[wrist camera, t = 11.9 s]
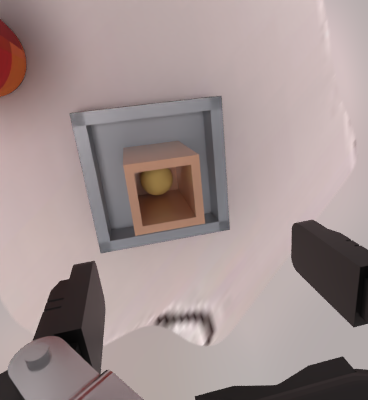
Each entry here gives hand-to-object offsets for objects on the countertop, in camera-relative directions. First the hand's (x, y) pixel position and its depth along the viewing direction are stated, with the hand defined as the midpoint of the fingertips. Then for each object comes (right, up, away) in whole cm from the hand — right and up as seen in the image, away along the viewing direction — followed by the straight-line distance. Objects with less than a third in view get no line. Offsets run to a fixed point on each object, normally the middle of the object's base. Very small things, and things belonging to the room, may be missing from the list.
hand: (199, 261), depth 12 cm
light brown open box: (-3, +5, +16) cm, 17 cm away
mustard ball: (-3, +5, +15) cm, 16 cm away
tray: (-3, +5, +17) cm, 18 cm away
